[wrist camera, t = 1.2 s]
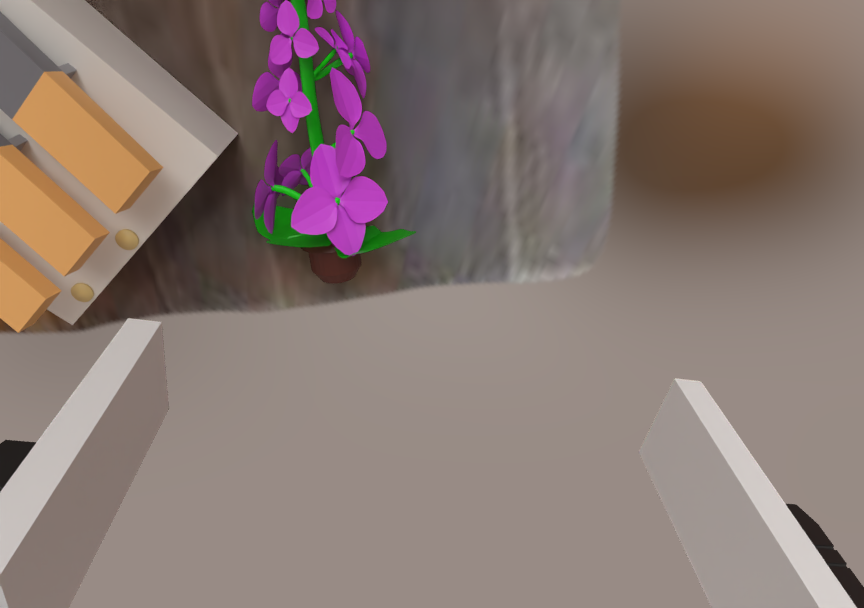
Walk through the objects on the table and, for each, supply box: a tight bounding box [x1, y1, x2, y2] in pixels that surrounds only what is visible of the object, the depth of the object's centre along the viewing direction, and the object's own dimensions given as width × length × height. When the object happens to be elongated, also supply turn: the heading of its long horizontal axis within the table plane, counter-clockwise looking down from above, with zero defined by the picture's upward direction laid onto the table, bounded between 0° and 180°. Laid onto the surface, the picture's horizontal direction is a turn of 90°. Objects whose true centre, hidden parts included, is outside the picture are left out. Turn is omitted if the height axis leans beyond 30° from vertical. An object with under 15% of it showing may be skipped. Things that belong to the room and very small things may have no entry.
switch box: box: [0, 0, 238, 325], centre depth 42 cm, size 20×20×8 cm
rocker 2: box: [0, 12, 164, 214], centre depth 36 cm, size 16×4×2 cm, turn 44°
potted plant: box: [252, 0, 416, 283], centre depth 40 cm, size 12×16×35 cm
